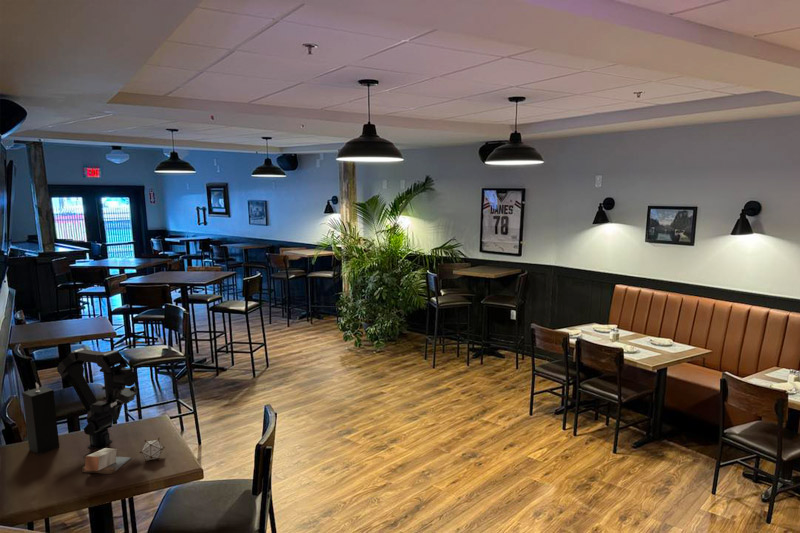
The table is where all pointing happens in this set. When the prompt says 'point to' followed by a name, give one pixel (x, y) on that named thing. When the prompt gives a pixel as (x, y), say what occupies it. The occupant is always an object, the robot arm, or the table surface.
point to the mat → (119, 462)
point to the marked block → (100, 459)
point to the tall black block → (41, 419)
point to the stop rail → (105, 470)
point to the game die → (152, 449)
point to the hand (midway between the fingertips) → (116, 419)
